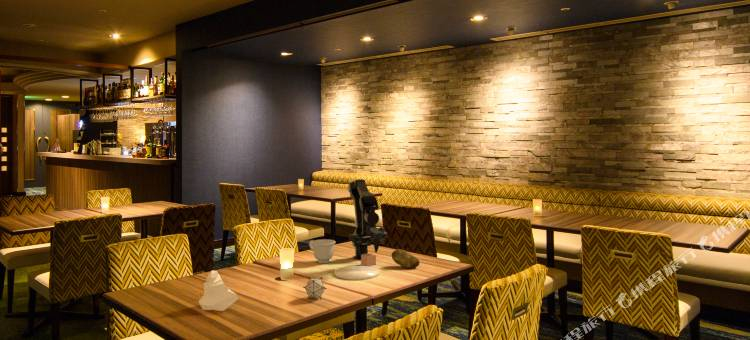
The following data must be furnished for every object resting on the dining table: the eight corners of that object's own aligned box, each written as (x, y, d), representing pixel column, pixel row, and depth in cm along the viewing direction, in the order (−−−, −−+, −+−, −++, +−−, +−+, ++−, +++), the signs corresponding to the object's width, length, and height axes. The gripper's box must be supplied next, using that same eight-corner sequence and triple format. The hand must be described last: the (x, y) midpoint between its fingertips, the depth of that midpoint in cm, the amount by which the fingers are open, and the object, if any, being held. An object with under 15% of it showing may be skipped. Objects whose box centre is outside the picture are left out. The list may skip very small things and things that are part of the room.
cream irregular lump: (205, 319, 189) (193, 281, 188) (201, 310, 203) (189, 274, 201) (240, 305, 194) (228, 268, 192) (233, 297, 208) (222, 262, 206)
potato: (410, 270, 247) (410, 253, 246) (388, 266, 255) (388, 249, 254) (421, 267, 253) (421, 250, 252) (399, 263, 261) (399, 246, 261)
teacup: (318, 257, 275) (317, 237, 274) (340, 261, 266) (340, 241, 266) (301, 261, 265) (301, 241, 265) (324, 266, 257) (324, 245, 256)
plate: (325, 273, 244) (325, 270, 244) (361, 266, 256) (361, 263, 256) (351, 282, 228) (351, 279, 228) (388, 274, 240) (388, 272, 240)
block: (361, 264, 259) (361, 254, 258) (369, 263, 262) (369, 253, 262) (367, 266, 255) (367, 256, 255) (375, 265, 258) (375, 254, 258)
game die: (316, 309, 205) (314, 293, 199) (300, 298, 209) (297, 282, 203) (332, 293, 211) (329, 277, 204) (315, 282, 215) (313, 266, 208)
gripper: (362, 225, 245) (362, 259, 246) (394, 221, 256) (394, 253, 257) (348, 222, 254) (348, 255, 255) (379, 218, 265) (379, 249, 266)
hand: (368, 253), depth 258 cm, fingers open, 9 cm apart
